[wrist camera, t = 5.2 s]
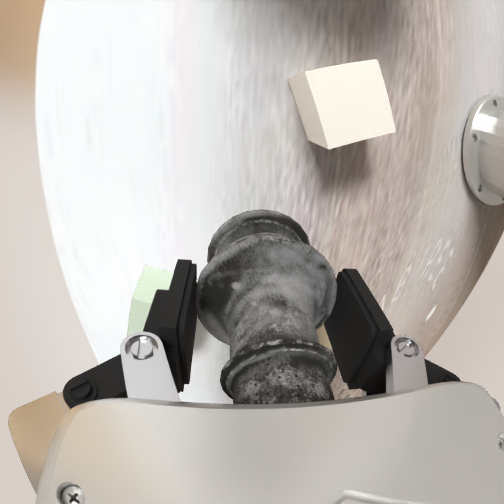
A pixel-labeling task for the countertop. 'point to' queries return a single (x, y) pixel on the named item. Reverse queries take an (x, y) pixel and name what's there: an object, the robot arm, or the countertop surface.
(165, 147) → the countertop surface
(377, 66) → the cream painted cube
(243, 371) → the salt shaker
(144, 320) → the sage painted cube
